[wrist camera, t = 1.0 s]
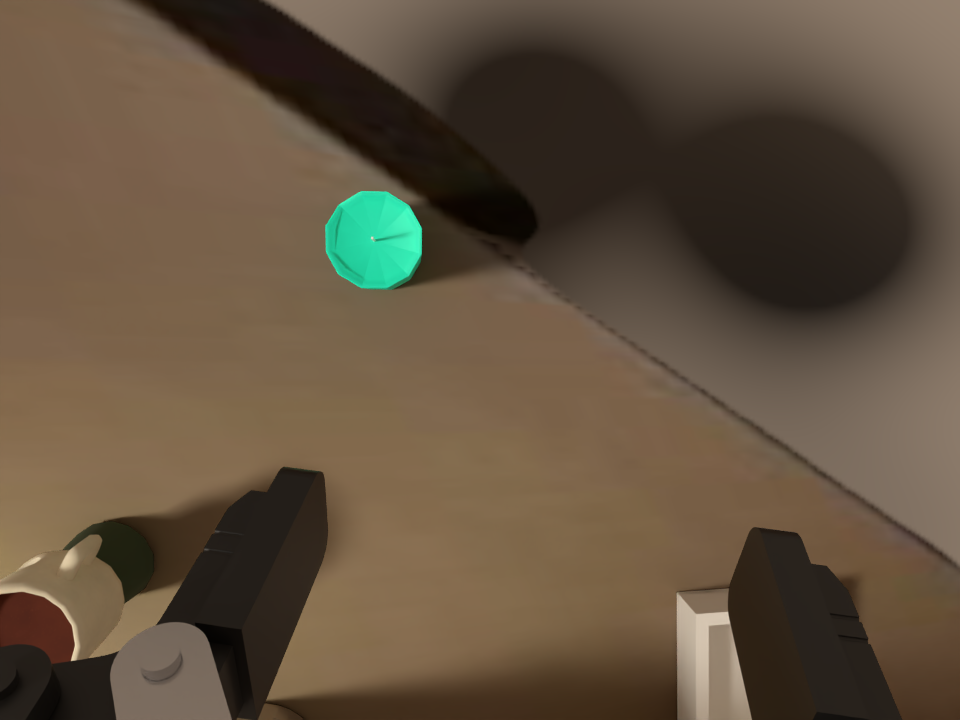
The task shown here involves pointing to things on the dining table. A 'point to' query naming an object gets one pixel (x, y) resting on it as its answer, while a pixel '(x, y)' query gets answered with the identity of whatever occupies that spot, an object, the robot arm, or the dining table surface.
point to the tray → (708, 659)
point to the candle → (374, 240)
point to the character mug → (75, 592)
